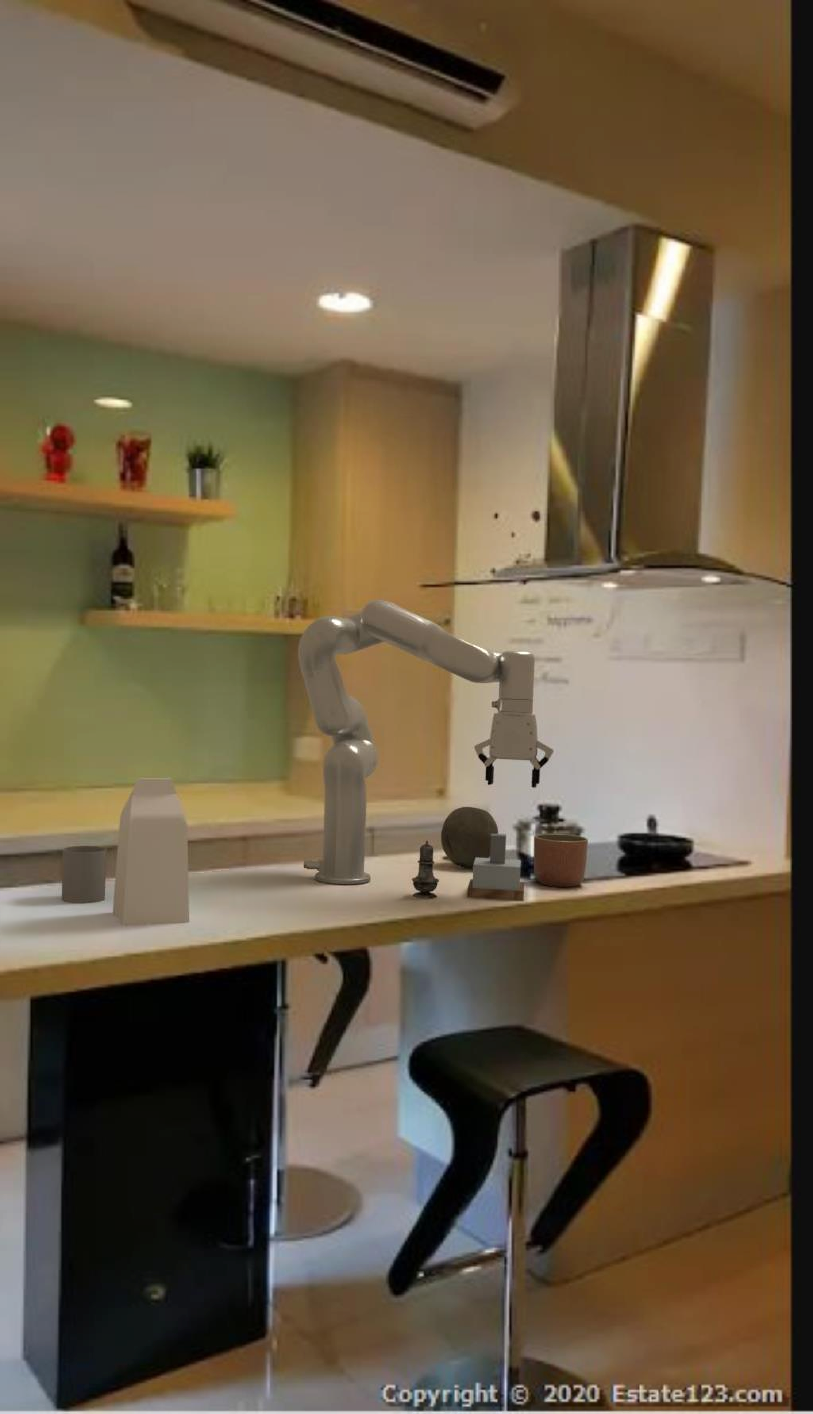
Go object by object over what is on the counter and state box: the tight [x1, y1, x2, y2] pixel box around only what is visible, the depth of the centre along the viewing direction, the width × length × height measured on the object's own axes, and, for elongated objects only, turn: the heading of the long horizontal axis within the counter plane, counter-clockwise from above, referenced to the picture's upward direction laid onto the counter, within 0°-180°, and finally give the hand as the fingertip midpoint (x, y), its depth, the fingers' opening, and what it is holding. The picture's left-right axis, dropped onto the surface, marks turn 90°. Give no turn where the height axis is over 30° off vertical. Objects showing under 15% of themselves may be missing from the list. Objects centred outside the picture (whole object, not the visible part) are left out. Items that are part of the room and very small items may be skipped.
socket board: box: [466, 878, 525, 902], centre depth 245 cm, size 12×11×2 cm
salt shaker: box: [411, 840, 440, 900], centre depth 240 cm, size 6×6×12 cm
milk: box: [112, 777, 190, 927], centre depth 209 cm, size 12×12×26 cm
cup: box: [61, 845, 107, 905], centre depth 223 cm, size 8×8×10 cm
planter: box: [533, 833, 589, 888], centre depth 260 cm, size 12×12×11 cm
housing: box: [472, 833, 522, 891], centre depth 245 cm, size 10×10×11 cm
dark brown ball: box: [440, 806, 499, 869], centre depth 279 cm, size 14×14×15 cm
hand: (512, 785), depth 245 cm, fingers open, 9 cm apart
